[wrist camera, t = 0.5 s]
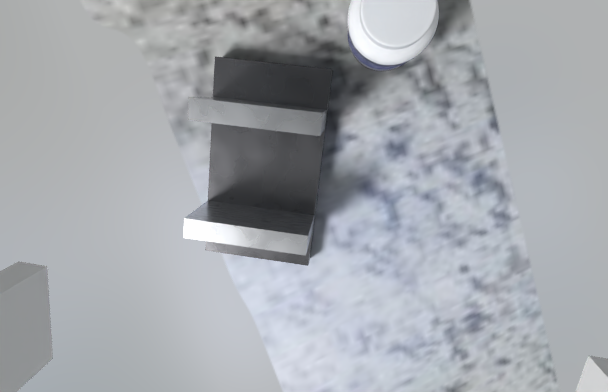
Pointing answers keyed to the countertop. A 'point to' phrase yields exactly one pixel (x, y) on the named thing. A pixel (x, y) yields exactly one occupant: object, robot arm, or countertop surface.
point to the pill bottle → (390, 30)
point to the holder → (262, 159)
